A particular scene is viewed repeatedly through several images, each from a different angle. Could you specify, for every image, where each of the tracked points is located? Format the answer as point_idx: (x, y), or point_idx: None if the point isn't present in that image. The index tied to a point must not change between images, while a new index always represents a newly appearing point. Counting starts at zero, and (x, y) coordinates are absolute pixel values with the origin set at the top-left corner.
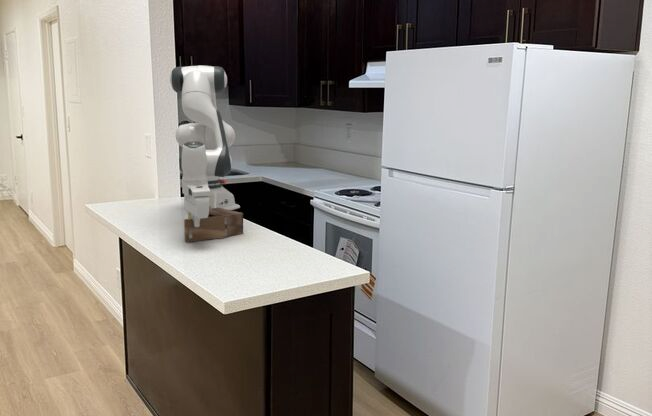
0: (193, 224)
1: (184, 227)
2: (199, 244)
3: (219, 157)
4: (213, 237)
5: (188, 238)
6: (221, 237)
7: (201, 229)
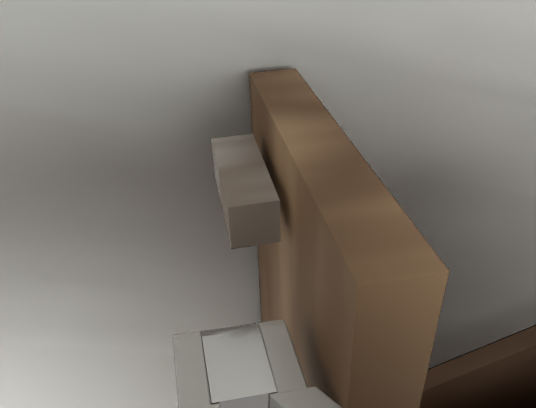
0: (265, 341)
1: (364, 160)
2: (96, 205)
3: None
4: None
5: (257, 126)
6: None
7: None
